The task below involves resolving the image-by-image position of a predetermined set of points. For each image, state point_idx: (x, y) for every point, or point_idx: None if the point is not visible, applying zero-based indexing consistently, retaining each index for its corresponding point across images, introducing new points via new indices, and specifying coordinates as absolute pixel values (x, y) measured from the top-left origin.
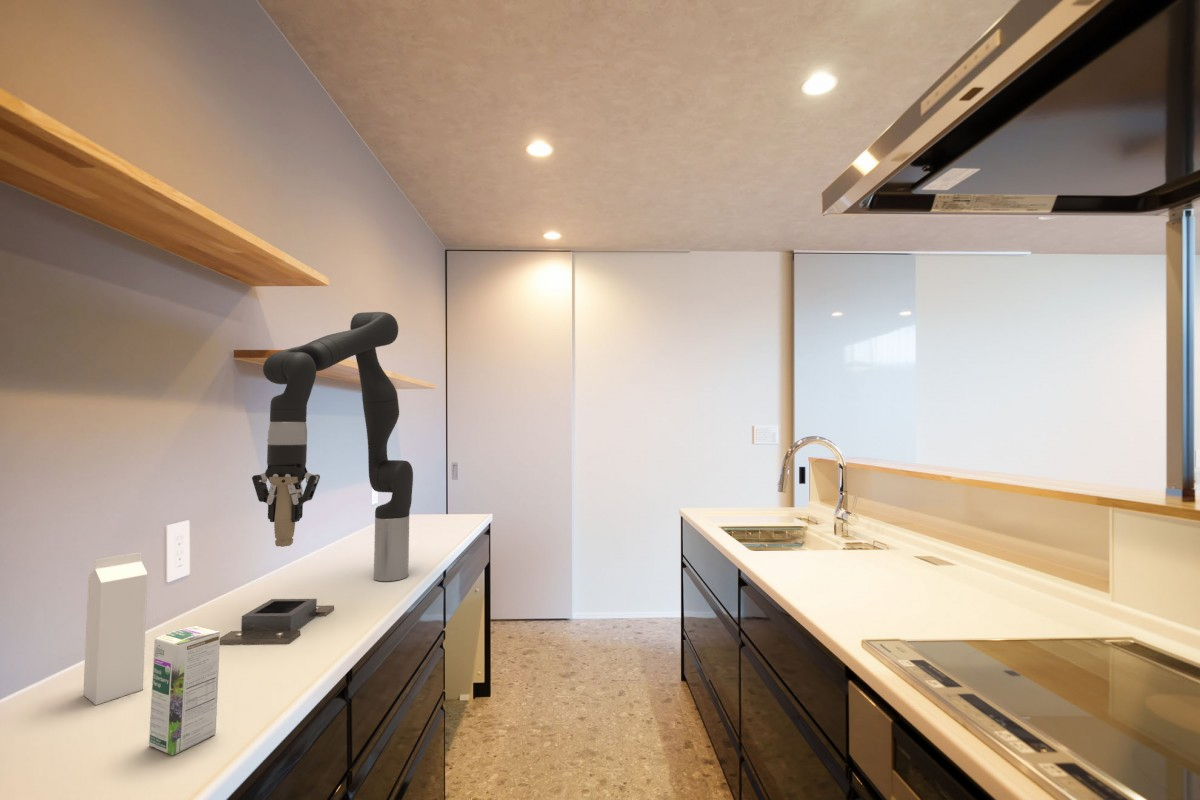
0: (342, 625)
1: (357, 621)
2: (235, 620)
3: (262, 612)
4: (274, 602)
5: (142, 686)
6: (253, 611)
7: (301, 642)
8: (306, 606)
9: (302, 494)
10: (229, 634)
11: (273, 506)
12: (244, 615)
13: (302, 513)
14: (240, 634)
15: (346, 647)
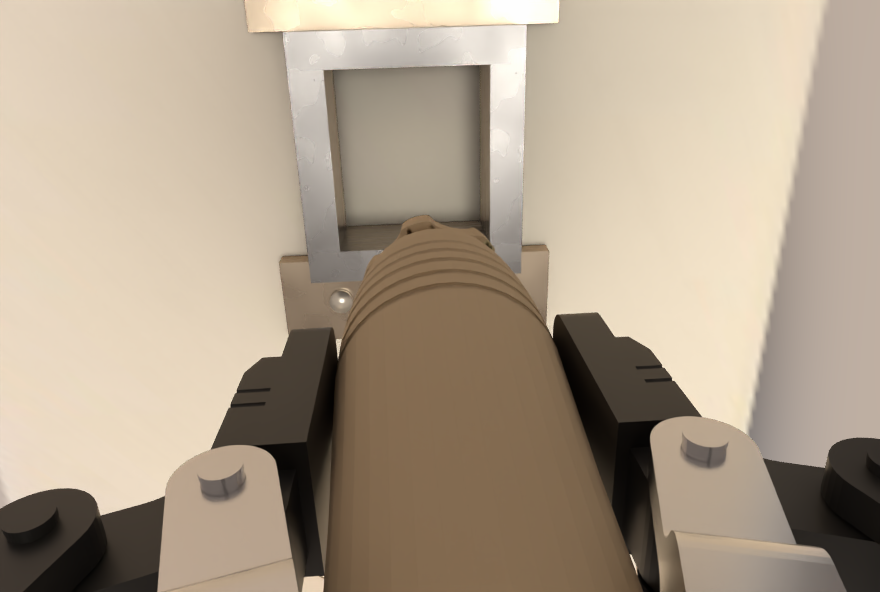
0: (670, 137)
1: (720, 87)
2: (156, 78)
3: (335, 177)
4: (323, 72)
5: (323, 586)
6: (321, 225)
7: (579, 304)
8: (523, 137)
9: (788, 533)
10: (298, 294)
11: (324, 559)
12: (317, 275)
13: (661, 365)
14: (350, 308)
15: (746, 339)
